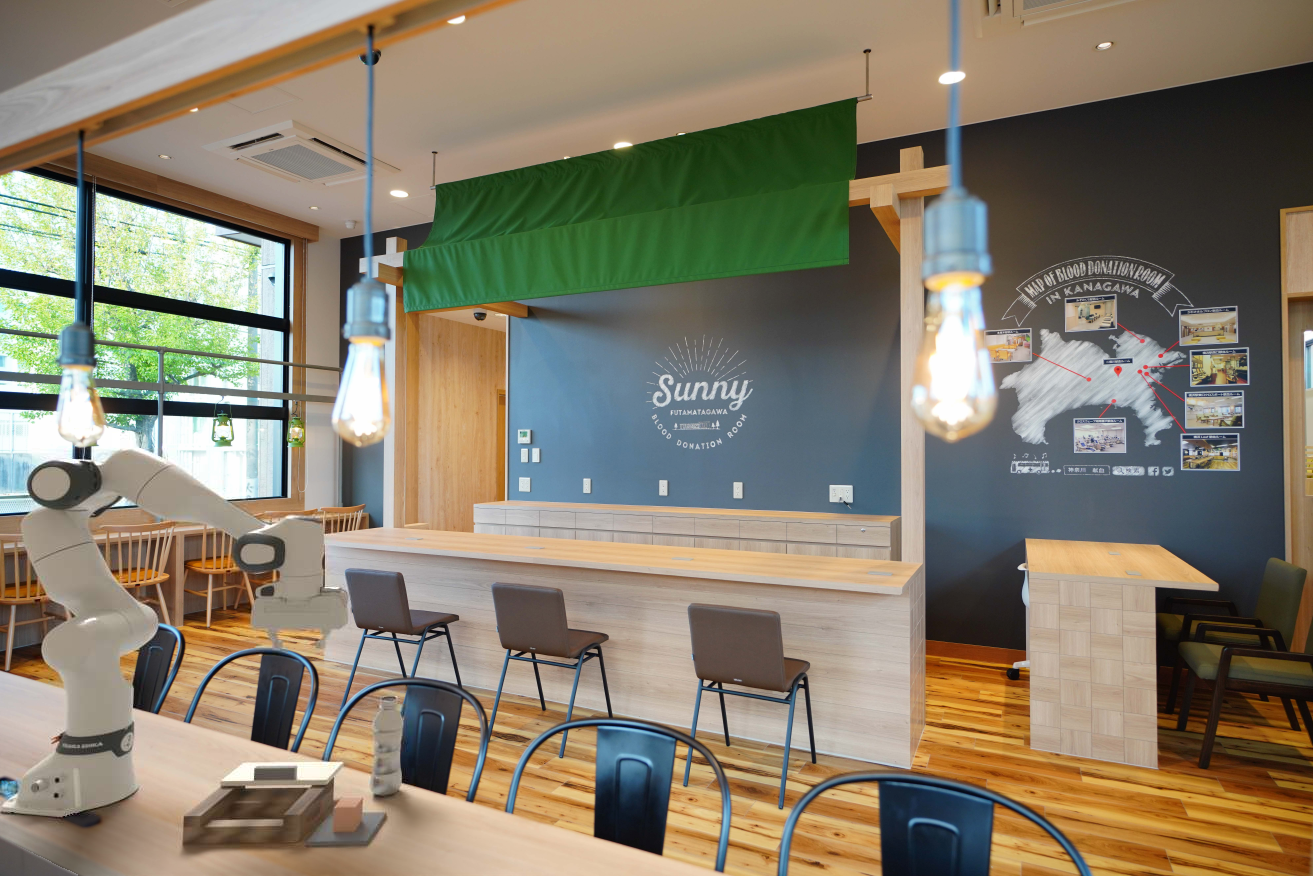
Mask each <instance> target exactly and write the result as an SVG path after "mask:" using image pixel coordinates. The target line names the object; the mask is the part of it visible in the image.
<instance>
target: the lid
mask: <svg viewBox="0 0 1313 876" xmlns="http://www.w3.org/2000/svg"><path fill="white" fill-rule="evenodd" d="M344 764H345V763H344V761H298V762H297V761H296V762H295V761H294V762H293V761H287V762H285V761H283V762H281V761H280V762H278V761H277V762H274V761H273V762H243V763H241V764H240V765H239V766H238V767H236V768H235V769H234V770H232V771H231V772H230V773H229V774H228V775H226V776H225V777H224V778H223V779H221V780H220V781H219V782H220V784H219V785H220V786H219V787H221V786H245V787H251V786H252V787H253V786H254V787H255V786H257V787H259V786H260V787H262V786H263V787H265V786H270V787H273V786H312V785H327V784H328V783H329V782H330V781H331V779H332V778H335V776H336V775H338V773H339V772H340V771H341V770H342V769H343V767H344V766H345V765H344Z"/></svg>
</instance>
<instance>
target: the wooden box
mask: <svg viewBox="0 0 1313 876" xmlns="http://www.w3.org/2000/svg"><path fill="white" fill-rule="evenodd" d="M334 789H335V777H333V778H332V779H331V781H330V782H329V783H328V784H327V785H310V787H251V788H250V787H248V788H247V787H246V786H219V787H218V788H217V789H216V790H215V791H213V792H212V793H211V794H210V795H208V796H207V797H205V799H204V800H202V801H200V802H199V803H198V804H197V805H196V806H195V807H193V808H191V810H190V811H188V812H187V813H186V814H185V815H183V826H182V827H183V828H182V844H183V845H186V844H187V845H189V844H190V845H192V844H248V843H249V844H253V843H254V844H255V843H256V844H257V843H261V844H262V843H266V844H267V843H299V842H300V841H301V840H302V839H304V837H305V836H306V835H307V833H308V832H309V831H310V830H311V828H313V826H314V825H315V824H316V823H317V822H318V821H319V819H320V818H321V817H322V816H323V815H324V814H325V812H327V810H328V809H329V808H330V806H331V805H332V804H333V803H334V796H335V795H334V791H335V790H334ZM268 818H269V819H268ZM274 818H275V819H274ZM276 818H277V819H276ZM280 818H281V819H280Z"/></svg>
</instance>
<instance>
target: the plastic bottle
mask: <svg viewBox="0 0 1313 876" xmlns="http://www.w3.org/2000/svg"><path fill="white" fill-rule="evenodd" d="M378 706H379V708H378V709H379V711H378V712H377V714H376V716H375V717H374V719H373V721H372V724H371V725H372V730H371V731H372V736H373V754H374V755H373V763H372V771H371V775H370V780H369V785H370V790H371V792H372V794H374V795H376V796H378V797H379V796H381V797H383V796H390V795H393V794H395V793H397V792H398V791H399V790H400V788H401V786H402V780H403V776H402V768H401V755H400V751H401V742H402V741H401V740H402V734H403V728H404V719H403V718H404V717H403V716H402V714H401V713H400V712H399V710H398V709H397V708H398V706H399V704H398V697H397V696H395V695H386V696H383V697H381V698H380V699H379V705H378ZM376 777H377V778H376Z"/></svg>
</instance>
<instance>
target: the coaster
mask: <svg viewBox="0 0 1313 876" xmlns="http://www.w3.org/2000/svg"><path fill="white" fill-rule="evenodd" d="M387 814H388V813H387V811H380V812H379V811H377V812H376V811H375V812H373V811H372V812H370V811H369V812H366V811H365V812H363V811H362V822H361V823H360V825H359V826H358V827H357V829H356V830H355V831H352V832H333V819H334V812H330V813H329V814H328V815H327V817H326V818H324V820H323V822H321V824H320V825H319V826H318V827H317V828H316V830H315V831H314V832H313V833H312V834H311V836H310V837H309V838H307V839H308V840H306V847H329V846H330V847H331V846H332V847H333V846H336V847H339V846H368V845H369V843H370V841H371V840H372V838H373V837H374V835H375V834H376V833H377V831H378V829H379V828H380V826H381V825H382V823H383V822H384V821H385V820H386V818H387Z"/></svg>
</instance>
